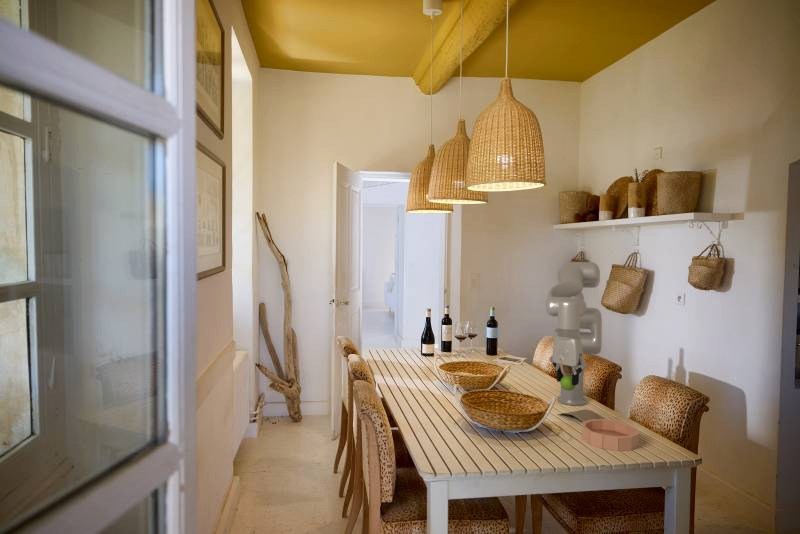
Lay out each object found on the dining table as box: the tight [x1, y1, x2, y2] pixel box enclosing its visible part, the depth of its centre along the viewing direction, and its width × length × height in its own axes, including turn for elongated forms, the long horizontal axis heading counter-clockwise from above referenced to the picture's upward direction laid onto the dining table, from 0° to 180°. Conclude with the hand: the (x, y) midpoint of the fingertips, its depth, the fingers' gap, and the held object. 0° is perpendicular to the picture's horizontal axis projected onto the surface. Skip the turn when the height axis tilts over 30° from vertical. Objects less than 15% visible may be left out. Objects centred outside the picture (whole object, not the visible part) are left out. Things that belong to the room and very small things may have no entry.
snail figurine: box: [559, 358, 576, 391], centre depth 182 cm, size 5×6×12 cm
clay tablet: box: [558, 408, 605, 423], centre depth 201 cm, size 16×11×3 cm
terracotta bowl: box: [581, 418, 640, 452], centre depth 177 cm, size 18×18×4 cm
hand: (567, 382), depth 182 cm, fingers closed on snail figurine, 5 cm apart
